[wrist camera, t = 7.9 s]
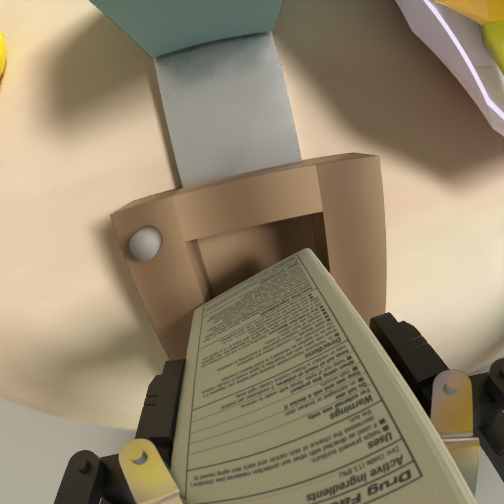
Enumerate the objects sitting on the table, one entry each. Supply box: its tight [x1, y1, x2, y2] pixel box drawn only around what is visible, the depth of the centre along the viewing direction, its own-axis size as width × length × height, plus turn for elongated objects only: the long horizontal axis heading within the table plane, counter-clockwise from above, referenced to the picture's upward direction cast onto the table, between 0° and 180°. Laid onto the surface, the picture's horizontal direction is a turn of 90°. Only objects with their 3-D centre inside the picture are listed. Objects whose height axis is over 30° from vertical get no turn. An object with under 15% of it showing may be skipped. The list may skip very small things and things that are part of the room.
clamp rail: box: [153, 31, 302, 188], centre depth 11 cm, size 6×16×1 cm, turn 12°
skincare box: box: [170, 248, 477, 504], centre depth 8 cm, size 6×4×12 cm
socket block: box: [110, 153, 386, 361], centre depth 14 cm, size 12×12×4 cm
